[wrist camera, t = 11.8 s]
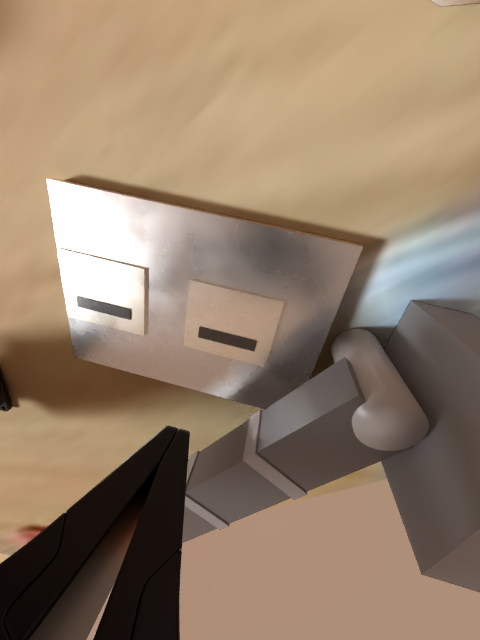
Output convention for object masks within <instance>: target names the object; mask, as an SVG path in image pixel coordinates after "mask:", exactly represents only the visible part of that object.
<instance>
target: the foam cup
mask: <svg viewBox="0 0 480 640" xmlns="http://www.w3.org/2000/svg"><path fill="white" fill-rule="evenodd" d="M431 1H433V2H434V3H436V4H437V5H439V6H450V5H462V4H473V3H480V0H431Z"/></svg>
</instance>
